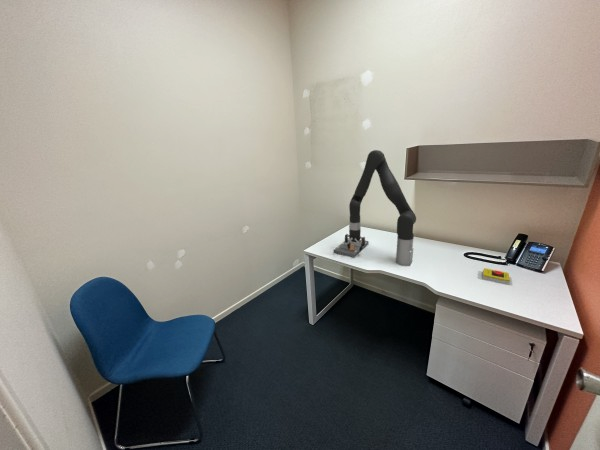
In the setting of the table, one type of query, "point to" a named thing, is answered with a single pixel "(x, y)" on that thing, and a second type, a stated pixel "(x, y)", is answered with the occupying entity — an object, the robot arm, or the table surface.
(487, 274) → the emergency button
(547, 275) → the table surface
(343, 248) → the panel
